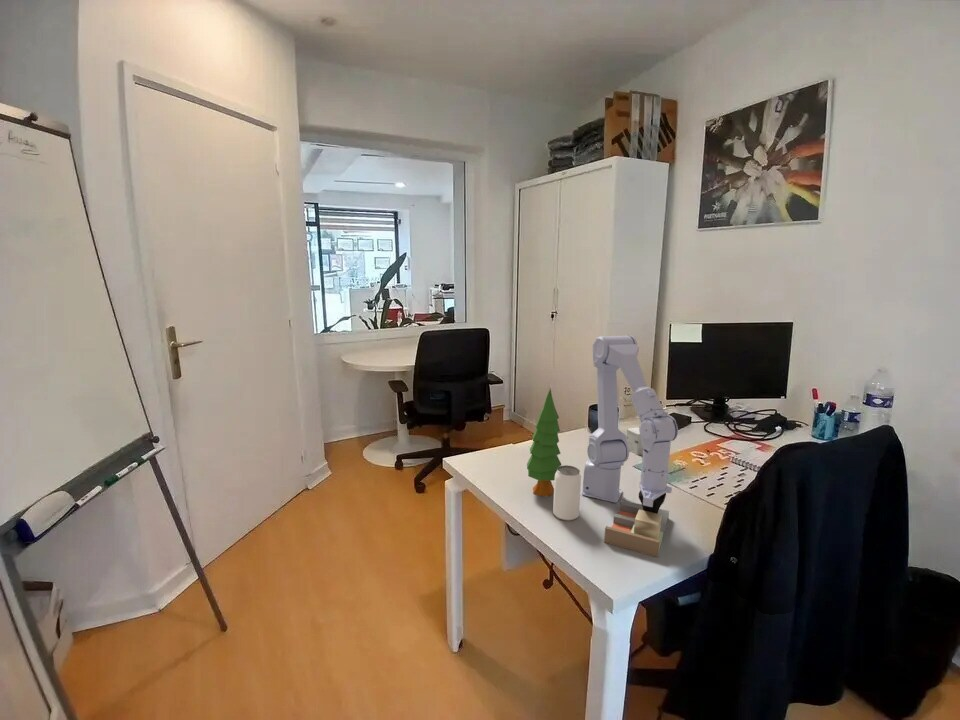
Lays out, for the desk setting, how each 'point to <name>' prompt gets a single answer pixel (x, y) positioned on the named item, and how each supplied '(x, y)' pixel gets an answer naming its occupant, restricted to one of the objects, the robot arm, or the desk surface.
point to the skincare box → (634, 440)
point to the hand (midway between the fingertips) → (649, 521)
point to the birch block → (647, 524)
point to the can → (567, 493)
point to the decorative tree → (545, 449)
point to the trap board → (624, 530)
